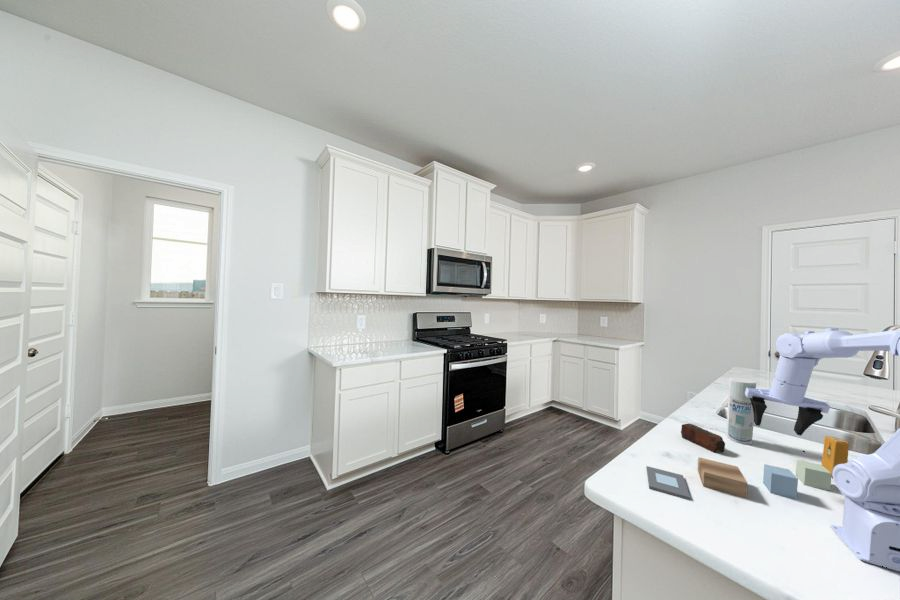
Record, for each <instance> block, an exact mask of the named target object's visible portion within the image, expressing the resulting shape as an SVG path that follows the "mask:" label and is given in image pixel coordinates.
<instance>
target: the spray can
mask: <svg viewBox="0 0 900 600" xmlns="http://www.w3.org/2000/svg"><path fill="white" fill-rule="evenodd" d="M746 388H753V389H757V382H756V381H754V380H752V379H749V378H743V377H733V376H732V377H729V379H728V394H727V396H728V398H727V415H726V419H727V421H726V434H725V435H726V439H728V440H729V439H730V440H729V441H731V440H732V442H734V443H737V444H741V443H742V444H741V445H747V444H749V445H752V444H753V435H754V434H753V433H754V424H755V423H754V414H753V408H752V404H751V401H750V398H748V397H747V396H746V395H745V391H746ZM751 443H752V444H751Z"/></svg>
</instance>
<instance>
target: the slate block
mask: <svg viewBox="0 0 900 600" xmlns="http://www.w3.org/2000/svg"><path fill="white" fill-rule="evenodd" d="M763 465H764V466H763V479H762V483H763V485H764V487H765V488H766V489H767V490H768V492H769V493H770V494H774V495H778V496H781V497H785V498H789V499H794V500H797V498H798V485H799V484H798V483H799V479H798V478H797V477H796V474H794V473H793V472H792V471H791V469H788V468H784V467H779V466H774V465H770V464H765V463H764V464H763Z"/></svg>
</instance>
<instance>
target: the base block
mask: <svg viewBox="0 0 900 600" xmlns="http://www.w3.org/2000/svg"><path fill="white" fill-rule="evenodd" d="M697 474H698V475H699V478H700V481H701V484H702V487H704V488H706V489H711V490H715V491H718V492H722V493H726V494H730V495H732V496H733V495H734V496H736V497H740V498H744V499H747V497H748V485H749V484H748V483H749V482H748V481H747V479H746V478H745V476H744V474H743V473H742V471H741V469H740V468H739V467H738V466H737V465H732V464H729V463H723V462H719V461H715V460H710V459H707V458H703V457H698V459H697Z"/></svg>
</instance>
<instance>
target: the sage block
mask: <svg viewBox="0 0 900 600" xmlns="http://www.w3.org/2000/svg"><path fill="white" fill-rule="evenodd" d="M795 476H796V477H797V478H798V481H800V483H802V484H803V486H807V487H813V488H816V489H821V490H825V491H829V492H830V491H831V483H832V477H831V473H830V472H829V471H828V470H827V469H826V468H825V467H823V466H822V464H820V463H814V462H810V461H805V460H800V459H796V465H795Z"/></svg>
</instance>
